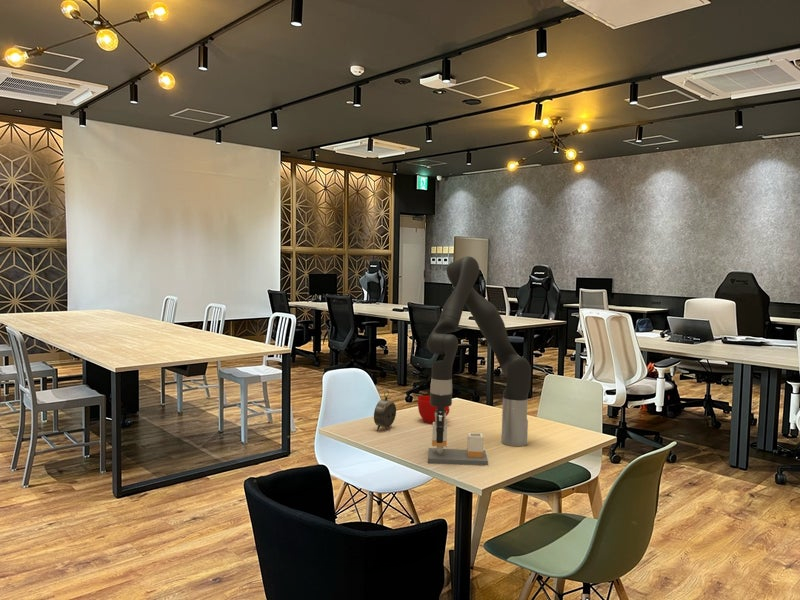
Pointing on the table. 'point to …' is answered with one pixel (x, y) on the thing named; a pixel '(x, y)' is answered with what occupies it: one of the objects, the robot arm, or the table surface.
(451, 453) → the pin board
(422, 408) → the ceramic cup
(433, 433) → the sleeve
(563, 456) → the table surface
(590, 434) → the table surface
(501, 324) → the robot arm
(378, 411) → the alarm clock
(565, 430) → the table surface
